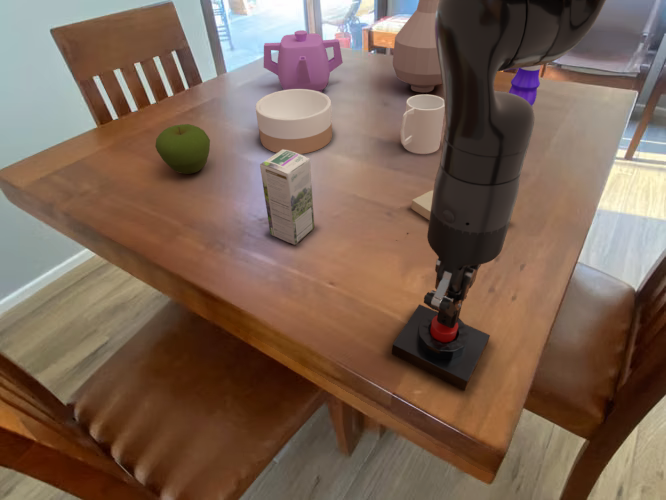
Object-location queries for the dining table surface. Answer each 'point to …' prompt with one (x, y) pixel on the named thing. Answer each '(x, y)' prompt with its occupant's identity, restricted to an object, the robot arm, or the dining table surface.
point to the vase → (418, 49)
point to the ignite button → (443, 331)
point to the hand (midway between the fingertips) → (447, 321)
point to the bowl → (294, 120)
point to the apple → (184, 148)
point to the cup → (422, 124)
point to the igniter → (440, 348)
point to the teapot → (303, 60)
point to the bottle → (526, 83)
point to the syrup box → (288, 195)
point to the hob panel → (423, 204)
